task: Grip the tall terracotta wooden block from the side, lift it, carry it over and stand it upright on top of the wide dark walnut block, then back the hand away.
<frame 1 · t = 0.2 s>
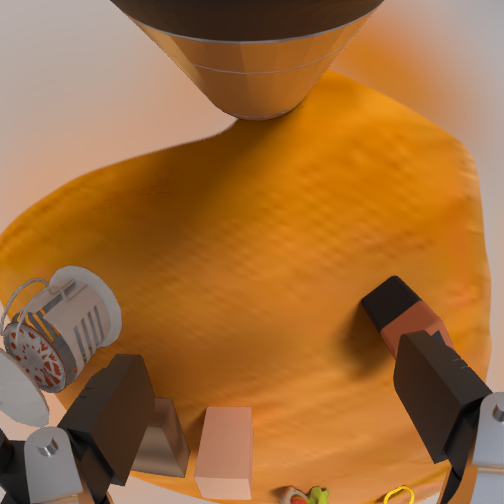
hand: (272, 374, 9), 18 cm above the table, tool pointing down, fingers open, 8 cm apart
battery: (391, 309, 28), on the table
bird rattle: (299, 488, 38), on the table
terracotta block: (231, 420, 32), on the table
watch: (395, 489, 40), on the table
french press: (83, 301, 28), on the table
walnut block: (142, 422, 34), on the table
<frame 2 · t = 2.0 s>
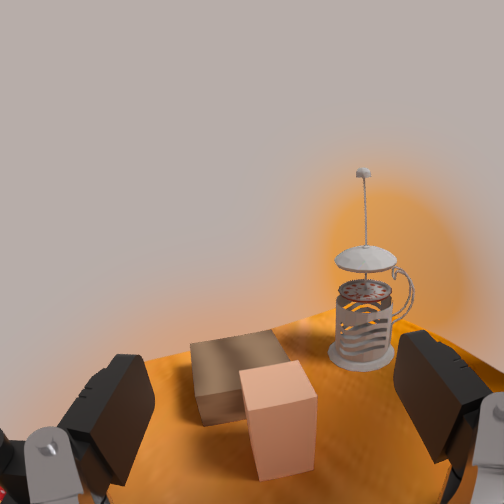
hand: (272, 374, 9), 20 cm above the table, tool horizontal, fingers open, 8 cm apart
terracotta block: (280, 457, 24), on the table
french press: (367, 352, 40), on the table
walnut block: (243, 390, 36), on the table
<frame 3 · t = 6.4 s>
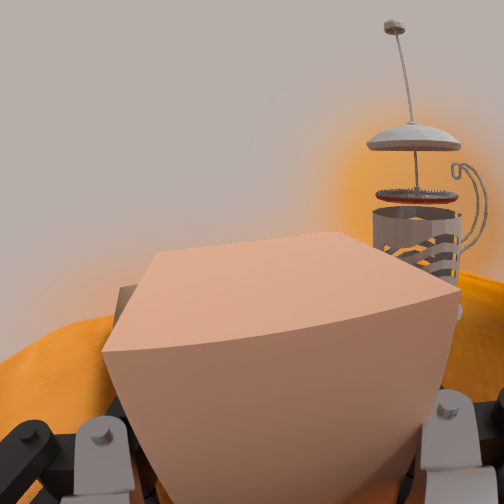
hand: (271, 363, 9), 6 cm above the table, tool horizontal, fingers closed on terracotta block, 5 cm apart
french press: (421, 306, 24), on the table
walnut block: (214, 367, 20), on the table
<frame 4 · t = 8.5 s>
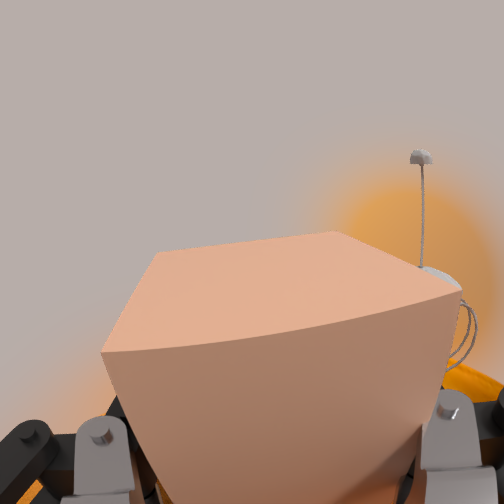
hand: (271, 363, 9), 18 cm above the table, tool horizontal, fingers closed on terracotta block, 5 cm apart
french press: (405, 406, 26), on the table
when the fingers open (12 cm above the table, at t = 11.0 s): terracotta block drops 2 cm, resting on walnut block.
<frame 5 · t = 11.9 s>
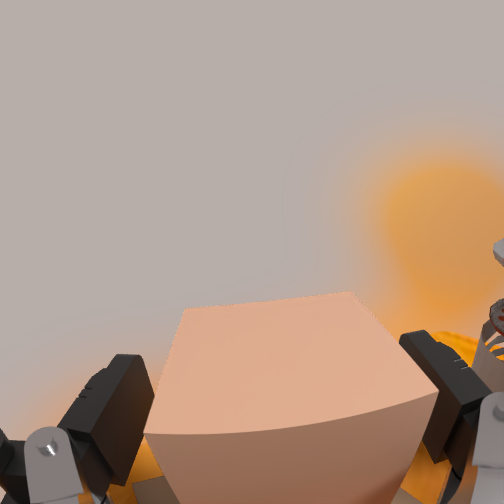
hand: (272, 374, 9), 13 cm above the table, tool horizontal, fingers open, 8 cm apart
french press: (500, 426, 14), on the table
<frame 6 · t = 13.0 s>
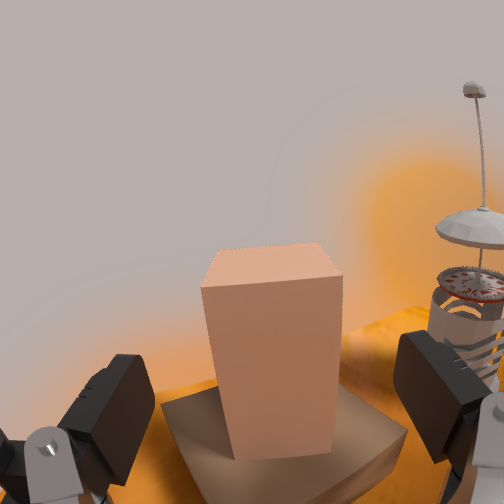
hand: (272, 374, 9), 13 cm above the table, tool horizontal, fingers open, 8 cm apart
terracotta block: (280, 426, 16), point 5 cm above the table, touching walnut block
french press: (462, 379, 21), on the table
walnut block: (278, 470, 17), on the table, touching terracotta block
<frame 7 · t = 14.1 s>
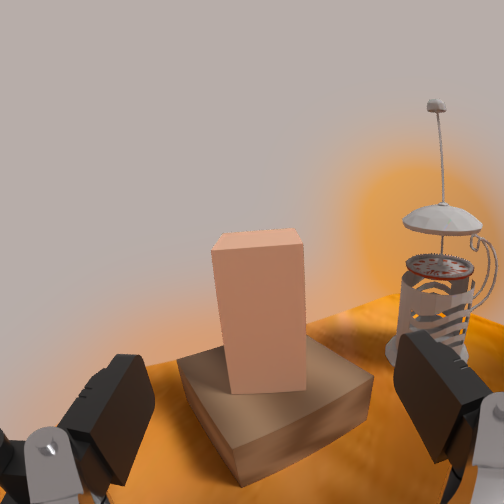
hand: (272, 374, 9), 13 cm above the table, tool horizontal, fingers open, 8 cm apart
terracotta block: (268, 371, 21), point 5 cm above the table, touching walnut block
french press: (434, 352, 27), on the table
walnut block: (271, 417, 23), on the table, touching terracotta block
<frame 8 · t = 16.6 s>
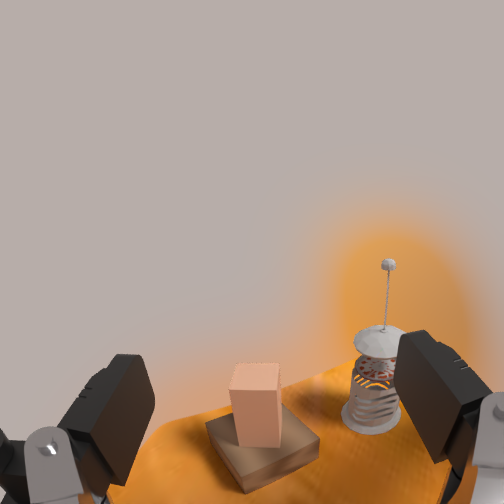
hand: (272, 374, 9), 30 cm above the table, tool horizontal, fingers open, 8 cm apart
terracotta block: (261, 433, 34), point 5 cm above the table
french press: (376, 413, 40), on the table
walnut block: (262, 453, 36), on the table
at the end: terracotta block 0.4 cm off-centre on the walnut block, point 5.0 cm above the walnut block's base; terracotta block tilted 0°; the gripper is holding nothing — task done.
